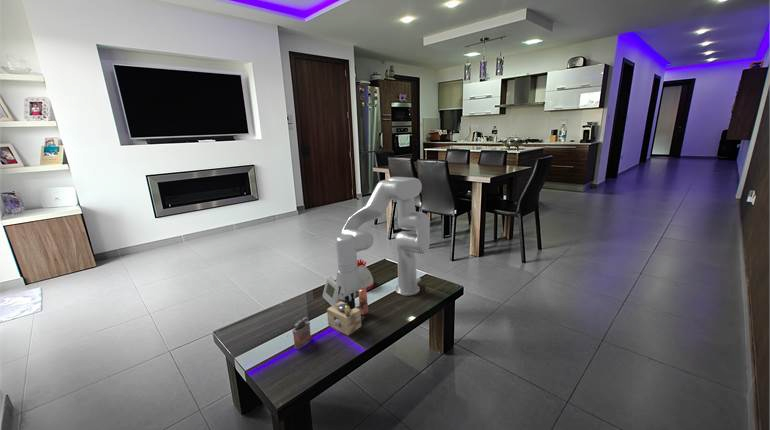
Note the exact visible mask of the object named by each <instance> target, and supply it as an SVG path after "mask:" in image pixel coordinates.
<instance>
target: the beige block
mask: <svg viewBox="0 0 770 430" xmlns="http://www.w3.org/2000/svg"><path fill="white" fill-rule="evenodd" d="M340 304H347V302H345V303H344V302H341V301H340V302H339V303H337V304H335V305H333V306H331V305H330V306H329V307H328V308H327V309H326V314H327V325H328V326H329V327H330V328H333V329H334V330H336V331H339V332H340V333H342V334H343V335H346V336H349V335H351V334H353V333H355V332H356V331H357V330H358V329H359V328H361V327H362V316H361V315H362V314H361V311H360V309H358V308H356V307H355V308H353V309H350V315H349V316H348V317H346V315H345V313H344V312H340V311H338V308H337V307H338V305H340ZM337 318H338V319H340V324H339V325H337V326H335V325H334V320H336V319H337Z"/></svg>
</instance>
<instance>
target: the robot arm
mask: <svg viewBox="0 0 770 430" xmlns="http://www.w3.org/2000/svg"><path fill="white" fill-rule="evenodd" d="M422 188H423V185H422V182H421V180H420V179H419V178H416V177H406V176H391V177H388V179H383V180H380V181H379V182H378V183H377V184H376V185H375V187H374V189H373V191H372V193H371V195H370V197H369V199H368V201H367V202H366V204H365V205H364V206H363V207H362V208H360V209H359V210H357V211H356V212H355V213H354V214H352V215H351V216H350V217H349V218H348V219H347V221H346V223H345V224H344V226H343V228H342V229H341V232H340V234H339V235H340V236H338V237H336V240H335V247H336V257H337V270H338V271H336V279H335V281H336V292H337V294H340V295H339V299H341V300H344V299H345V302H346V304H347V305H349V307H350V309H353V308H356V302H355V301H356V300H355V299H356V298H357V293H359V290H360V288H361V278H360V272H359V268H358V267H357V262H358V260H359V259H358V258H357V252H362V251H363V252H364V251H365V250H369V249H370V248H371V247H372V245H373V244H374V241H375V240H374V236H373V234H371V233H370V232H368V231H367V230H366V231H365V230H361V229H359V228H360V227H361V226H362V225H364V224H365V223H368V222H371V221H374V220H377V219H379V218H382V217H383V216H384V215H385V212H386V210H387V208H388V206H389V205H390V202H391V201H396V204H397V205H396V207H397V208H396V209H397V225H398V227H399V228H400V229H402V230H403V231H400V232H398V233H397V234H396V235H395V238H394V244H395V249H396V255H397V285H396V286H395V292H396V293H397V295H398V294H399V295H401V296H405V297H407V296H409V297H410V296H414V295H417V294H418V293H420V286H419V285H418V283H419V282H421V281H422V279H421V278H420V277H417V256H416V254H419V255H423V254H426V253H428V251H429V249H430V241H431V240H430V238H431V237H430V235H431V234H430V232H431V230H430V228H431V227H430V225H431V223H430V221H431V220H430V218H429V215H428V214H426V213H425V212H421V211H416V207H415V206H416V204H415V203H416V202H415V198H416V197H418V196H419V195H420V193H421V192H422ZM405 230H406V231H405Z"/></svg>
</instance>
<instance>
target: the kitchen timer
mask: <svg viewBox="0 0 770 430" xmlns="http://www.w3.org/2000/svg"><path fill="white" fill-rule="evenodd" d="M357 260H358V262H357V267H358V268H359V272H360V278H361V288H366V289H367V291H369V290H371V289H372V288H374V285H375V284H374V277H373V275H372V273H371V271H370V270H369V269H368V267H367V265H366V264H367V261H365V260H362V259H357Z"/></svg>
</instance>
